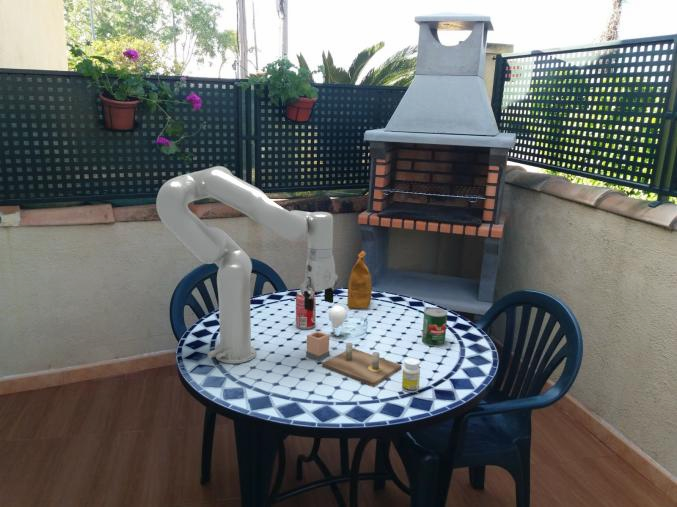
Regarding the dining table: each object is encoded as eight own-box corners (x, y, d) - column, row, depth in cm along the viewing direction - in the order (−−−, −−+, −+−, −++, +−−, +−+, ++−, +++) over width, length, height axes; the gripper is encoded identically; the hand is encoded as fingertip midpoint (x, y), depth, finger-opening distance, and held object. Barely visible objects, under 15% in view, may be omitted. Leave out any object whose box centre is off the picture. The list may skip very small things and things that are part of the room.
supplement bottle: (407, 383, 150) (409, 356, 148) (421, 388, 147) (423, 361, 145) (398, 389, 147) (400, 361, 145) (413, 394, 144) (414, 366, 142)
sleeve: (318, 361, 163) (319, 340, 161) (305, 356, 166) (306, 335, 164) (329, 355, 167) (330, 335, 165) (316, 350, 170) (317, 330, 168)
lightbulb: (330, 340, 179) (331, 309, 176) (326, 332, 185) (326, 303, 182) (348, 338, 180) (349, 308, 178) (343, 331, 186) (344, 302, 184)
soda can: (314, 330, 187) (315, 296, 184) (294, 329, 187) (294, 295, 184) (316, 323, 194) (316, 289, 190) (296, 322, 194) (296, 289, 190)
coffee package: (373, 301, 219) (375, 250, 214) (369, 311, 207) (372, 257, 202) (349, 299, 221) (351, 249, 216) (345, 309, 209) (346, 256, 204)
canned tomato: (434, 348, 174) (437, 317, 172) (417, 340, 180) (419, 310, 177) (449, 342, 179) (452, 312, 177) (432, 335, 185) (434, 306, 182)
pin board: (373, 386, 147) (374, 366, 146) (321, 366, 159) (322, 347, 157) (401, 368, 159) (402, 349, 157) (351, 351, 170) (352, 333, 169)
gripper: (310, 260, 150) (310, 316, 154) (346, 249, 163) (345, 301, 168) (291, 255, 154) (291, 310, 159) (328, 246, 168) (327, 296, 172)
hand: (319, 305), depth 163 cm, fingers open, 9 cm apart
